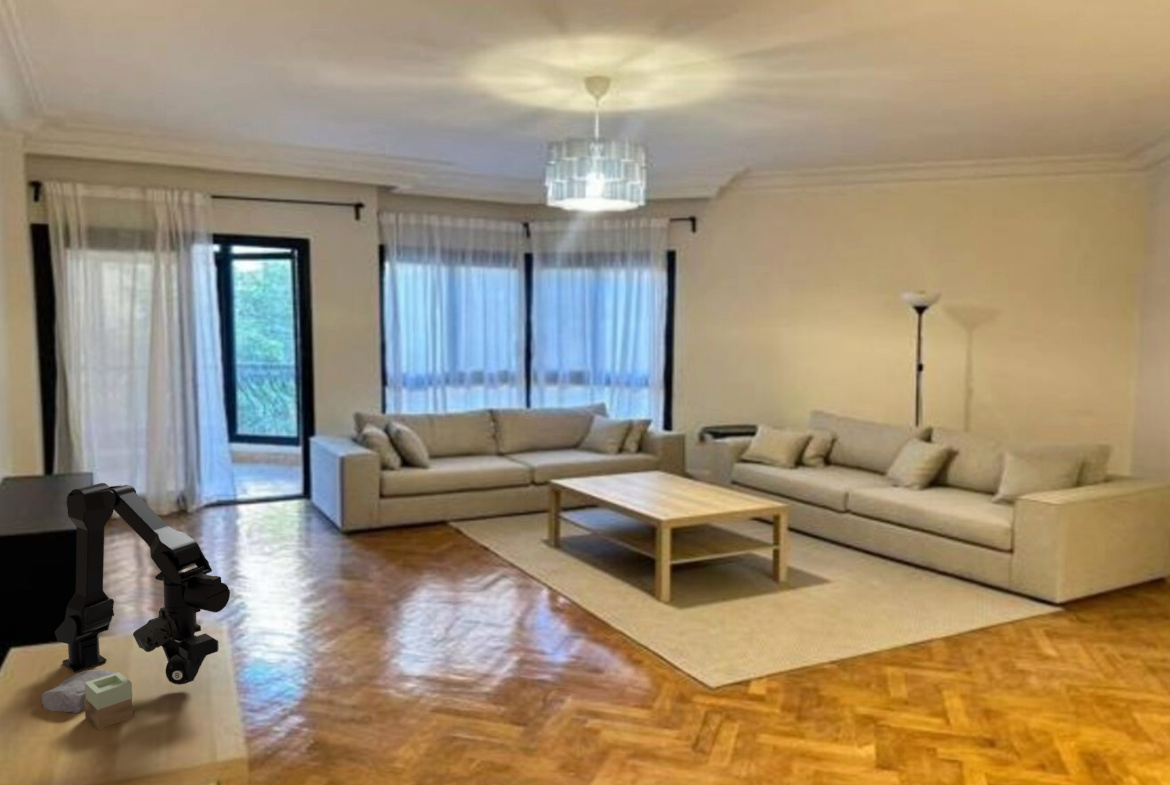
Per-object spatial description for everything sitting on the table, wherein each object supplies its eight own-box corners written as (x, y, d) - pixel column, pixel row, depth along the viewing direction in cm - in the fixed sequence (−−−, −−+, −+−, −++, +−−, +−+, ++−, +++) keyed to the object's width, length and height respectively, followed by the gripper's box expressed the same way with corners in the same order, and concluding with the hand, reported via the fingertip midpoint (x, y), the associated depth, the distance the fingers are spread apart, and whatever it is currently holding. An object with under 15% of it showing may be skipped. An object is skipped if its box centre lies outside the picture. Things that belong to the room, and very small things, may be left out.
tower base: (85, 719, 156) (84, 699, 156) (119, 706, 161) (118, 687, 160) (98, 730, 153) (97, 710, 152) (132, 717, 157) (132, 697, 157)
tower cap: (85, 698, 156) (84, 682, 156) (119, 687, 161) (119, 671, 160) (97, 709, 152) (96, 693, 152) (132, 698, 157) (131, 682, 156)
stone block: (37, 718, 159) (80, 715, 157) (32, 694, 159) (75, 690, 157) (85, 690, 171) (126, 687, 169) (81, 668, 171) (122, 665, 169)
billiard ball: (203, 675, 171) (202, 647, 170) (193, 689, 165) (192, 660, 164) (172, 675, 170) (171, 648, 169) (161, 690, 164) (160, 661, 163)
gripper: (116, 601, 164) (120, 675, 167) (161, 628, 153) (164, 707, 155) (173, 586, 173) (175, 656, 175) (219, 610, 162) (221, 685, 164)
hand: (182, 676), depth 167 cm, fingers closed on billiard ball, 6 cm apart
